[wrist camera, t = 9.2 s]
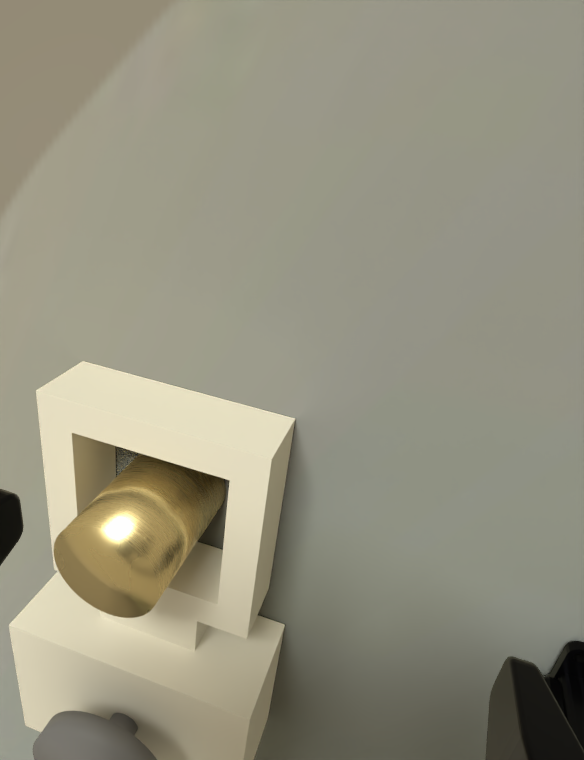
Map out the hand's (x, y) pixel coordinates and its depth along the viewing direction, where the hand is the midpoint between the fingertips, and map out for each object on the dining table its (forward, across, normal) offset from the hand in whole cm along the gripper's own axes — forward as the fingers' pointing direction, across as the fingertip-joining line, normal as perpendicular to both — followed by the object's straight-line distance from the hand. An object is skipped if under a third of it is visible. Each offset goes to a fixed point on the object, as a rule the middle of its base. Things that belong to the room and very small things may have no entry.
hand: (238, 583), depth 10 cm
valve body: (+12, +7, +14) cm, 20 cm away
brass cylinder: (+12, +7, +9) cm, 16 cm away
